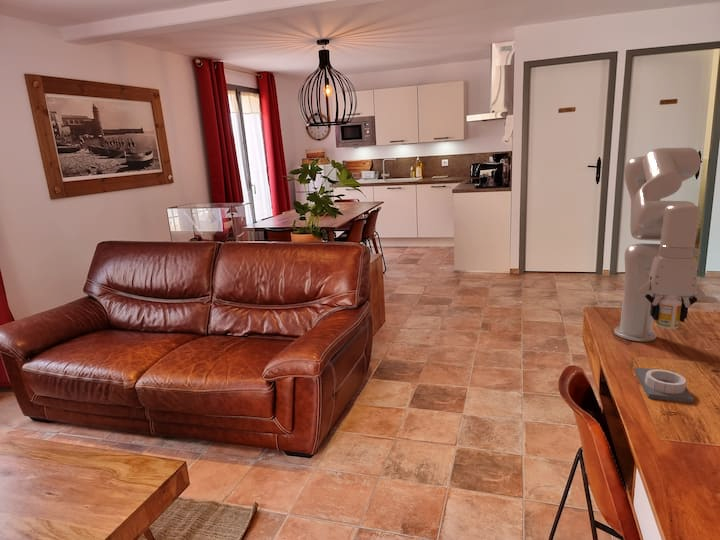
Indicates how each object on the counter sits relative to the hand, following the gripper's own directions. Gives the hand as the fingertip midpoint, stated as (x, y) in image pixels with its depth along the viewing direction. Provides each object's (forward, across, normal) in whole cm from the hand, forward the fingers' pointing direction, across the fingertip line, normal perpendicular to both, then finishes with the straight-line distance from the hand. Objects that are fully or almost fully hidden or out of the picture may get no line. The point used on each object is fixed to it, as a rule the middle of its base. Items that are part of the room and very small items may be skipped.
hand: (667, 318), depth 129 cm
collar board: (+18, 0, +2) cm, 18 cm away
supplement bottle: (+2, 0, 0) cm, 2 cm away
